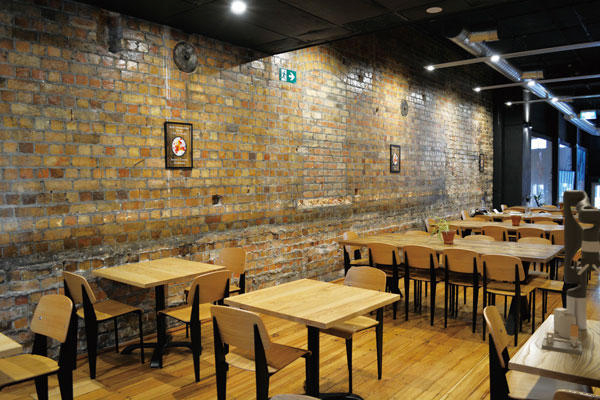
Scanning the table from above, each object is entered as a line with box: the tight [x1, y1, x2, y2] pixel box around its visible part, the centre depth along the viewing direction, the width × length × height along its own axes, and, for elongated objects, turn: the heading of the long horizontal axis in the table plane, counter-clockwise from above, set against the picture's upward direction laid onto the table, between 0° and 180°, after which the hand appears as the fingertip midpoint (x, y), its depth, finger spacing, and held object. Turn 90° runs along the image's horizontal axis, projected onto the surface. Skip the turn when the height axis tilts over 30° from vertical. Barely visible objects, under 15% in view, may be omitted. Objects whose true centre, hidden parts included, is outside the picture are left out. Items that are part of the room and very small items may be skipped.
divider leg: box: [570, 324, 579, 348], centre depth 210 cm, size 3×8×9 cm, turn 147°
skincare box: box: [553, 307, 568, 333], centre depth 236 cm, size 6×4×12 cm
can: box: [558, 313, 576, 340], centre depth 227 cm, size 8×8×12 cm
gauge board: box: [541, 329, 583, 356], centre depth 213 cm, size 16×12×6 cm
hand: (590, 282), depth 217 cm, fingers open, 8 cm apart
